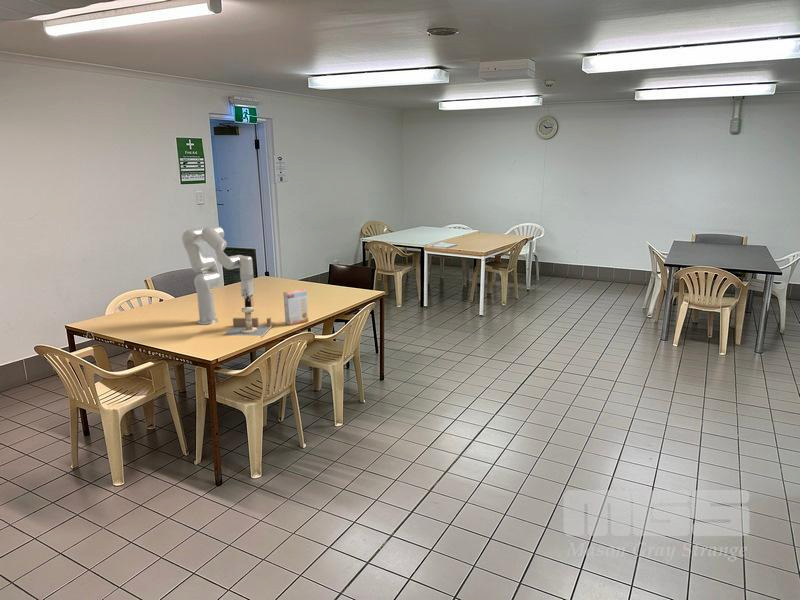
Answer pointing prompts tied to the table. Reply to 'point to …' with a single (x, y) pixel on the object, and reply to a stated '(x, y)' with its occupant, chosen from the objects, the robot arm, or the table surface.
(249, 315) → the bobbin
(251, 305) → the copper block
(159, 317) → the table surface
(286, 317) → the cracker box
